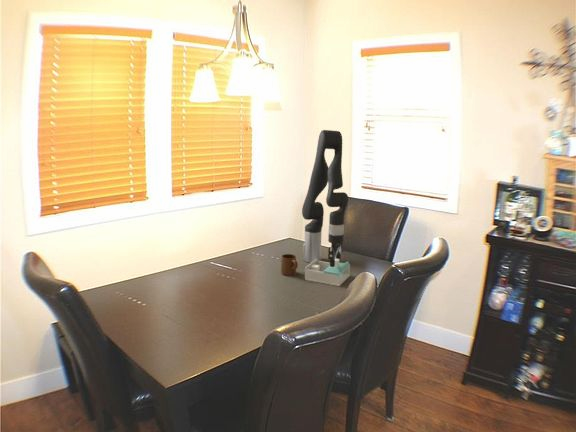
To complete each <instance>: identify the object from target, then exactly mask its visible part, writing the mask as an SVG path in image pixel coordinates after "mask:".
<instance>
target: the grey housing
mask: <svg viewBox="0 0 576 432" xmlns="http://www.w3.org/2000/svg"><path fill="white" fill-rule="evenodd" d="M317 260H318V259H315V260H314V261H313V262H311V263H310V262H309V264H307V265H306V266H305V267H304V280H305V281H310V282H316V283H321V284H327V285H331V286H336V287H340V286H341V285H342V284H343V283H344V282H345V281H346V280H347V279H348V278H349V277H350V273H351V272H350V271H351V269H350V268H351V265H350V266H349V267H348V268H347V269H346V270H345V271H344V272H343V273H342V274H341V275H335V274H329V273H324V272H323V271H324V270H325V269H326V268H328V267H329V266H330V261H329V262H328V261H323V260H321V261H317Z"/></svg>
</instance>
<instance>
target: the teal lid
mask: <svg viewBox="0 0 576 432" xmlns="http://www.w3.org/2000/svg"><path fill="white" fill-rule="evenodd" d="M349 266H350V267H351V264H350V261H345V262H339V267H338V268H337V269H335V268H330V266H329V267H328V268H326V269H325V270H324V271H323V272H324V273H329V274H335V275H341V274H342V273H343V272H344V271H345V270H346V269H347V268H348V267H349Z"/></svg>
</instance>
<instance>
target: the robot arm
mask: <svg viewBox="0 0 576 432" xmlns="http://www.w3.org/2000/svg"><path fill="white" fill-rule="evenodd" d="M326 150H334V156H333V159H332V161H331V163H330V165H328V164H327V161H326V158H325V157H326V156H325V154H326ZM342 158H343V135H342V133H341V131H338V130H332V129H331V130H327V129H323V130H321V131H320V133H319V135H318V140H317V147H316V153H315V159H314V163H313V168H312V172H311V175H310V181H309V185H308V189H307V192H306V195H305V199H304V202H303V204H302V208H301V215H302V217H303V219H304V220H306V221H307V220H308V221H310V222H309V223H307V224H305V226H304V243H303V244H302V245H303V246H302V261H305V262H307V263H309V264H310V263H311V262H313V261H314V260H315V259H318V260H317V261H322V259H321V258H322V256H321V255H322V230H323V226H324V206H323V204H322V203H321V201H316V200H317V198H318V197H319V196H320V194H321V193H322V192H323V191H324V190H325V188H326V187H327V195H326V198H325V202H326V205H327V206H328V207H329V208H337V210H334V211H331V212H329V221H328V222H329V224H328V240H327V241H328V243H330V244H331V246H329V247H328V255H327V256H328V257H327V258H328V260H329V263H330V267H334V266H335V258H336V259H340V261H339V263H341V261H342V260H341V258H342V253H343V252H344V249H343V247H344V242H345V240H344V239H345V237H344V236H345V226H344V225H345V224H344V223H345V213H346V210H347V208H348V207H347V206H348V203H349V195H348V194H347V193H346V192H334V191H335V190H339V189H341V188H343V186H344V183H343V181H344V180H343V173H342V163H343V162H342V160H343V159H342Z"/></svg>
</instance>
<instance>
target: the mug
mask: <svg viewBox="0 0 576 432" xmlns="http://www.w3.org/2000/svg"><path fill="white" fill-rule="evenodd" d="M280 260H281V261H280V263H281V264H280V265H281V266H280V267H281V269H280V270H281V271H280V273H281V275H283V276H286V277H287V276H288V277H290V276H291V277H292V276H294V275H296V273H297V269H298V266H299V265H298V262H297V257H296V255H294V254H291V253H288V254H287V253H286V254H282V255H281V259H280Z"/></svg>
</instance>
